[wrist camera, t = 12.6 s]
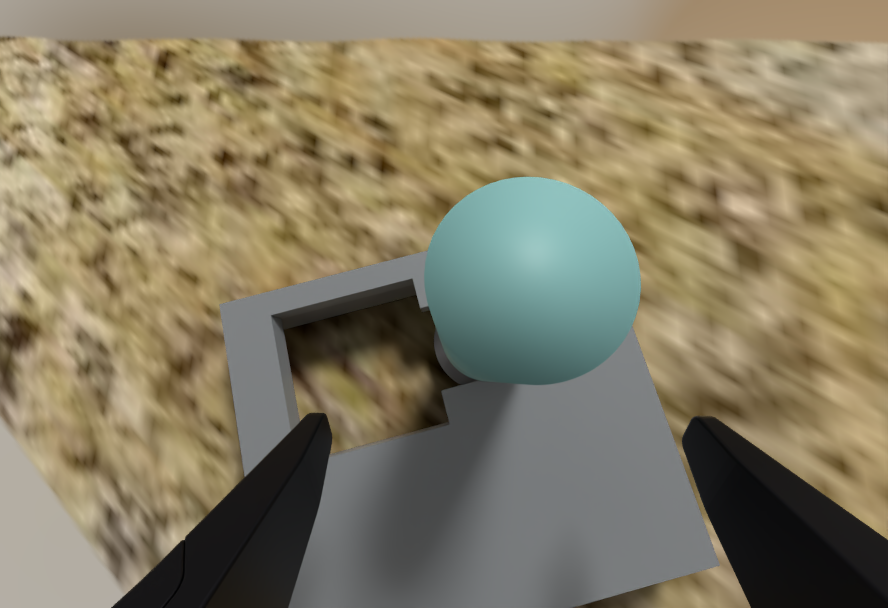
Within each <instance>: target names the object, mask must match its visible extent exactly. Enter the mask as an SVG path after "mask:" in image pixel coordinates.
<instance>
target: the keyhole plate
mask: <svg viewBox="0 0 888 608" xmlns="http://www.w3.org/2000/svg"><path fill="white" fill-rule="evenodd" d="M427 252H428V251H424V252H421V253H417V254H413V255H409V256H405V257H401V258H397V259H393V260H390V261H386V262H382V263H378V264H374V265H370V266H366V267H362V268H359V269H355V270H351V271H347V272H343V273H339V274H335V275H331V276H328V277H324V278H320V279H316V280H312V281H308V282H304V283H300V284H297V285H293V286H289V287H285V288H281V289H277V290H273V291H269V292H266V293H262V294H258V295H254V296H250V297H246V298H242V299H239V300H235V301H231V302H227V303H223V304H220V311H221V318H222V325H223V332H224V339H225V346H226V352H227V359H228V366H229V373H230V380H231V387H232V394H233V401H234V407H235V414H236V421H237V428H238V435H239V442H240V449H241V455H242V462H243V469H244V476H246V475H247V474H248V473H249V472H250V471H251V470H252V469H253V468H254V467H255V466H256V465H257V464H258V463H259V462H260V461H261V460H262V459H263V458H264V457H265V456H266V455H267V454H268V453H269V452H270V451H271V450H272V449H273V448H274V447H275V446H276V445H277V444H278V443H279V442H280V441H281V440H282V439H283V438H284V437H285V436H286V435H287V434H288V433H289V432H290V431H291V430H292V429H293V428H294V427H295V426H296V425H297V424H298V423H299V422H300V419H299V414H298V408H297V403H296V397H295V391H294V386H293V380H292V374H291V369H290V363H289V358H288V352H287V346H286V341H285V335H284V329H288V328H292V327H296V326H299V325H303V324H307V323H311V322H315V321H319V320H322V319H326V318H330V317H334V316H338V315H342V314H345V313H349V312H353V311H357V310H361V309H365V308H368V307H372V306H376V305H380V304H384V303H387V302H391V301H395V300H399V299H403V298H407V297H410V296H414V295H417V298H418V302H419V306H420V309H421V311H422V312H425V311H429V310H430V309H429V306H428V303H427V298H426V293H425V283H424V271H425V261H426V256H427ZM441 392H442V396H443V400H444V404H445V408H446V412H447V416H448V420H449V422H447V423H443V424H440V425H436V426H432V427H428V428H425V429H421V430H417V431H414V432H410V433H406V434H403V435H399V436H395V437H392V438H388V439H384V440H380V441H377V442H373V443H369V444H366V445H362V446H358V447H355V448H351V449H347V450H344V451H340V452H336V453H332V454H330V455H329V460H328V465H327V470H326V476H325V481H324V486H323V491H322V496H321V501H320V505H319V509H318V512H317V516H316V519H315V522H314V526H313V529H312V532H311V535H310V539H309V542H308V545H307V549H306V552H305V555H304V558H303V562H302V565H301V568H300V571H299V575H298V578H297V581H296V585H295V588H294V591H293V594H292V598H291V601H290V604H289V607H288V608H573V607H577V606H580V605H584V604H587V603H591V602H594V601H598V600H601V599H605V598H608V597H612V596H615V595H619V594H622V593H626V592H629V591H633V590H636V589H640V588H643V587H647V586H650V585H654V584H657V583H660V582H664V581H667V580H671V579H674V578H678V577H681V576H685V575H688V574H692V573H695V572H699V571H702V570H706V569H709V568H713V567H716V566H720V564H719V562H718V559H717V556H716V553H715V551H714V548H713V545H712V542H711V540H710V537H709V534H708V532H707V529H706V526H705V523H704V521H703V518H702V515H701V512H700V510H699V507H698V504H697V501H696V499H695V496H694V493H693V491H692V488H691V485H690V482H689V480H688V477H687V474H686V471H685V469H684V466H683V463H682V460H681V458H680V455H679V452H678V450H677V447H676V444H675V441H674V439H673V436H672V433H671V430H670V428H669V425H668V422H667V419H666V417H665V414H664V411H663V409H662V406H661V403H660V400H659V398H658V395H657V392H656V389H655V387H654V384H653V381H652V378H651V376H650V373H649V370H648V368H647V365H646V362H645V359H644V357H643V354H642V351H641V348H640V346H639V343H638V340H637V337H636V335H635V332H634V329H633V327H631V329H630V331H629V332H628V334H627V336H626V338H625V339H624V341H623V342H622V343H621V345H620V346H619V347H618V348H617V350H616V351H615V352H614V353H613V354H612V355H611V356H610V357H609V358H608V359H607V360H606V361H604V362H603V363H602V364H600V365H599V366H597V367H596V368H595V369H593V370H592V371H590V372H588V373H586V374H584V375H582V376H580V377H577V378H574V379H571V380H568V381H565V382H560V383H555V384H549V385H525V384H512V383H500V382H487V381H479V380H478V381H474V382H471V383H467V384H463V385H459V386H456V387H452V388H448V389H444V390H442V391H441Z"/></svg>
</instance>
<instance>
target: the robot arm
mask: <svg viewBox="0 0 888 608" xmlns="http://www.w3.org/2000/svg"><path fill="white" fill-rule="evenodd" d="M331 444H332V433H331V429H330V425H329V422H328V418H327V415H326V414H325V413H309V414H307V415H306V416H305V417H304V418H303V419H302V420H301V421H300V422H299V423H298V424H297V425H296V426H295V427H294V428H293V429H292V430H291V431H290V432H289V433H288V434H287V435H286V436H285V437H284V438H283V439H282V440H281V441H280V442H279V443H278V444H277V445H276V446H275V447H274V448H273V449H272V450H271V451H270V452H269V453H268V454H267V455H266V456H265V457H264V458H263V459H262V460H261V461H260V462H259V463H258V464H257V465H256V466H255V467H254V468H253V469H252V470H251V471H250V472H249V473H248V474H247V475H246V476H245V477H244V478H243V479H242V480H241V481H240V482H239V483H238V484H237V485H236V486H235V487H234V489H233V490H232V491H231V492H230V493H229V494H228V495H227V496H226V497H225V498H224V499H223V500H222V501H221V502H220V503H219V504H218V505H217V506H216V507H215V508H214V509H213V510H212V511H211V512H210V513H209V514H208V515H207V516H206V517H205V518H204V519H203V520H202V521H201V522H200V523H199V524H198V525H197V526H196V527H195V528H194V529H193V530H192V531H191V532H190V533H189V534H188V535H187V536H186V537H185V540H182V541H181V542H180V543H179V544H178V545H177V546H176V547H175V548H174V549H173V550H172V551H171V552H170V553H169V554H168V555H167V556H166V557H165V558H164V559H163V560H162V561H161V562H160V563H158V564H157V565H156V566H155V567H154V568H153V569H152V570H151V571H150V572H149V573H148V574H147V575H146V576H145V577H144V578H143V579H142V580H141V581H140V582H139V583H138V584H137V585H136V586H135V587H133V588H132V589H131V590H130V591H129V592H128V593H127V594H126V595H125V596H124V597H122V598H121V599H120V600H119V601H118V602H117V603H116V604H115V605H114V606H113V607H111V608H288V607H289V604H290V601H291V598H292V594H293V591H294V588H295V585H296V581H297V578H298V575H299V571H300V568H301V565H302V562H303V558H304V555H305V552H306V549H307V545H308V542H309V539H310V535H311V532H312V529H313V526H314V522H315V519H316V516H317V512H318V509H319V505H320V501H321V496H322V491H323V486H324V481H325V476H326V470H327V465H328V460H329V455H330V450H331ZM682 445H683V449H684V452H685V455H686V458H687V460H688V463H689V466H690V469H691V472H692V474H693V477H694V480H695V483H696V486H697V489H698V491H699V494H700V497H701V500H702V502H703V505H704V507H705V510H706V512H707V514H708V517H709V519H710V521H711V523H712V525H713V528H714V530H715V532H716V534H717V536H718V538H719V540H720V542H721V545H722V547H723V549H724V551H725V553H726V555H727V557H728V560H729V562H730V564H731V566H732V568H733V570H734V572H735V574H736V577H737V579H738V581H739V583H740V585H741V587H742V589H743V591H744V594H745V596H746V598H747V600H748V602H749V604H750V606H751V608H888V540H887V539H886V538H884V537H883V536H882V535H880V534H879V533H877V532H876V531H874V530H873V529H872V528H870V527H869V526H867V525H866V524H865V523H863V522H862V521H860V520H859V519H858V518H856V517H855V516H853V515H852V514H851V513H849V512H848V511H846V510H845V509H843V508H842V507H841V506H839V505H838V504H836V503H835V502H834V501H832V500H831V499H829V498H828V497H827V496H825V495H824V494H822V493H821V492H820V491H818V490H817V489H815V488H814V487H812V486H811V485H810V484H808V483H807V482H805V481H804V480H803V479H801V478H800V477H798V476H797V475H796V474H794V473H793V472H791V471H790V470H789V469H787V468H786V467H784V466H783V465H781V464H780V463H779V462H777V461H776V460H774V459H773V458H772V457H770V456H769V455H767V454H766V453H765V452H763V451H762V450H760V449H759V448H757V447H756V446H755V445H753V444H752V443H750V442H749V441H748V440H746V439H745V438H743V437H742V436H741V435H739V434H738V433H736V432H735V431H734V430H732V429H731V428H729V427H728V426H726V425H725V424H724V423H722V422H721V421H719V420H718V419H716V418H715V417H712V416H695V417H693V418H692V419H691V421H690V423H689V425H688V427H687V429H686V431H685V433H684V435H683V437H682Z"/></svg>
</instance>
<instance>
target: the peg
mask: <svg viewBox="0 0 888 608" xmlns="http://www.w3.org/2000/svg"><path fill="white" fill-rule="evenodd" d="M424 283H425V293H426V298H427V303H428V306H429V309H430V312H431V315H432V318H433V321H434V324H435V327H436V329H435V334H434V348H435V353H436V356H437V359H438V361H439V363H440V365H441V367H442V368H443V370H444V371H445V372H446V374H447V375H448V376H449V377H450V378H452V379H453V380H454V381H455V382H457V383H458V384H460V385H463V384H467V383H471V382H474V381H478V380H479V381H487V382H500V383H512V384H525V385H549V384H555V383H560V382H565V381H568V380H571V379H574V378H577V377H580V376H582V375H584V374H586V373H588V372H590V371H592V370H593V369H595V368H596V367H597V366H599V365H600V364H602V363H603V362H604V361H606V360H607V359H608V358H609V357H610V356H611V355H612V354H613V353H614V352H615V351H616V350H617V348H618V347H619V346H620V345H621V343H622V342H623V341H624V339H625V338H626V336H627V334H628V332H629V331H630V329H631V327H632V324H633V322H634V319H635V317H636V314H637V310H638V306H639V301H640V292H641V279H640V270H639V264H638V260H637V256H636V253H635V250H634V247H633V245H632V243H631V241H630V238H629V236H628V235H627V233H626V231H625V230H624V228H623V227H622V225H621V224H620V222H619V221H618V220H617V219H616V217H615V216H614V215H613V214H612V213H611V212H610V211H609V210H608V209H607V208H606V207H605V206H604V205H603V204H602V203H600V202H599V201H598V200H596V199H595V198H594V197H592V196H591V195H589V194H587V193H586V192H584V191H582V190H580V189H578V188H576V187H574V186H571V185H569V184H567V183H563V182H560V181H556V180H552V179H546V178H540V177H518V178H510V179H505V180H500V181H497V182H494V183H491V184H488V185H486V186H484V187H482V188H479V189H477V190H476V191H474V192H472V193H471V194H469V195H468V196H466V197H465V198H463V199H462V200H461V201H460V202H459V203H457V204H456V205H455V206H454V207H453V208H452V209H451V210H450V211H449V212H448V213H447V215H446V216H445V217H444V219H443V220H442V222H441V223H440V224H439V226H438V228H437V230H436V232H435V233H434V235H433V237H432V240H431V243H430V245H429V248H428V252H427V256H426V261H425V271H424Z"/></svg>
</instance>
